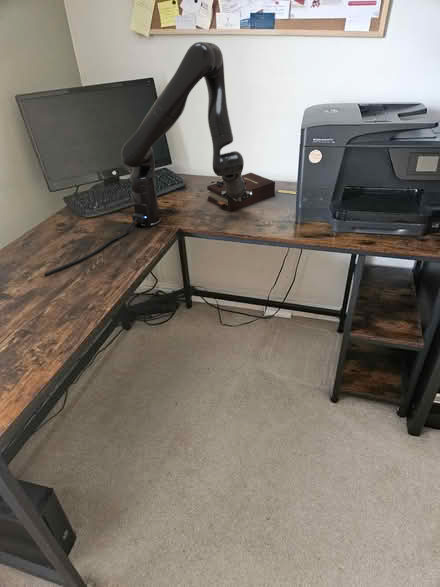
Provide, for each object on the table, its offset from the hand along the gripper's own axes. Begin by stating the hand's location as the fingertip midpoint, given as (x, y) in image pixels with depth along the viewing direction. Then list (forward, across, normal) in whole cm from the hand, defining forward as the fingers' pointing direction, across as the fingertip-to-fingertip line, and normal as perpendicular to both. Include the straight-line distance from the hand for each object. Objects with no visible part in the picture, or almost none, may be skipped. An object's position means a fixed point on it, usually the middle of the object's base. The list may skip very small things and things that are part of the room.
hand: (239, 202), depth 168 cm
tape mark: (+19, -19, -13) cm, 30 cm away
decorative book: (+13, +1, -7) cm, 15 cm away
